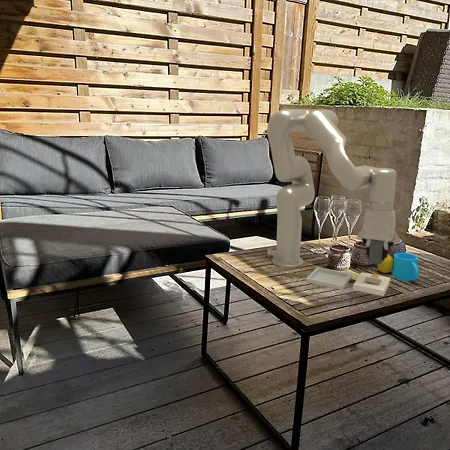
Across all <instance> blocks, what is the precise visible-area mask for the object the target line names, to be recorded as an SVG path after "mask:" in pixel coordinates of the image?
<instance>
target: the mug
mask: <svg viewBox="0 0 450 450" xmlns="http://www.w3.org/2000/svg"><path fill="white" fill-rule="evenodd" d="M418 263H419V256H417V255H415V254H412V253H409V252H396V253H394V255H393V268H392V270H391V271H392V272H391V275H392V276H393V277H394V279H395V280H397V281H398V280H399V281H402V282H414V281H416V280H417V279H418V278H419V276H420V272H419V271H420V270H419V267H418Z"/></svg>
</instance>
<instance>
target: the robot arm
mask: <svg viewBox="0 0 450 450" xmlns="http://www.w3.org/2000/svg"><path fill="white" fill-rule="evenodd" d="M338 125H339V118H338V116H337V114H336V112H334V111H333V110H331V109H326V108H325V109H324V108H323V109H322V108H321V109H307V108H305V109H304V108H303V109H302V108H295V109H294V108H283V109H279V110H277V111H276V112H274V113H273V114H272V115H271V116H270V118H269V120H268V123H267V126H266V127H267V128H266V132H267V137H268V142H269V146H270V151H271V156H272V162H273V168H274V174H275V177H276V179H277V180H278V181H279V182H282V183H290V182H291V183H292V184H289V185H285V186H283V187H281V188H280V189H279V190H278V191H277V193H276V195H275V203H276V210H277V211H276V212H277V218H276V219H277V220H276V221H277V222H276V223H277V224H276V225H277V227H276V246H275V249H272V248H271V249H270V248H268V249H267V252H266V253H267V256H272V258H271V263H272V264H273V265H275V266H277V267H280V268H281V267H285V268H296V267H300V266H302V265H304V260H303V258H301V257H300V256H301V245H302V244H301V243H302V242H301V241H302V227H303V226H302V225H303V224H302V223H303V217H302V213H301V211H300V209H301V208H303V207H306V206H307V207H308V206H309V205H310V204H311V205H312V203H313V201H314V199H315V195H316V194H315V193H316V192H315V186H314V178H313V174H312V169H311V165H310V163H309V161H308V159H306V158H305V157H304V156H301V155H296V153H295V149H294V147H295V146H294V144H293V141H292V139H291V138H290V135H289V133H309V135H310V136H311V137H312V138H313V139H314V141H315V142H316V144H317V145H318V146H319V147H320V148H321V150H322V151H323V152H324V153H325V155H326V160H327V164H328V168H329V169H330V171H331V173H332V175H333V176H334V177H335V178H336V179H337V181H338V182H339V183H340V184H341V185H342V187H344V188H345V189H347V190H349V191H358V190H362V189H367V188H369V189H370V190H369V192H370V193H369V200H367V201H364V206H367V207H368V208H366V209H365V212H364V215H363V223H362V229H361V230H360V231H359V233H358V234H357V235H356V237H357V238H358V239H359V240H360V241H361V242H363V244H364V245H365V247H366V251H365V255H366V256H367V259H369V251H370V240H378V241H384V249H383V252H382V261H384V260H385V258H387V254H388V255H389V253H388V252H389V248H391V247H392V246H394V245H396V244H398V243H400V242H401V239H400V237H399V235H398V233H397V232H396V227H397V226H396V221H397V220H396V219H397V218H396V211H395V210H394V204H395V191H396V183H397V182H396V181H397V172H396V170H395V169H393V168H390V167H389V168H388V167H387V168H385V167H374V166H370V165H360V166H355V164H353V162H352V161H351V160H350V158H349V157H348V155H347V154H346V153H347V152H346V151H345V145H346V143H347V137H346V136H345V135H344V134H343V132H341V130H340V129H339V128H338V127H339V126H338Z"/></svg>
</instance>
